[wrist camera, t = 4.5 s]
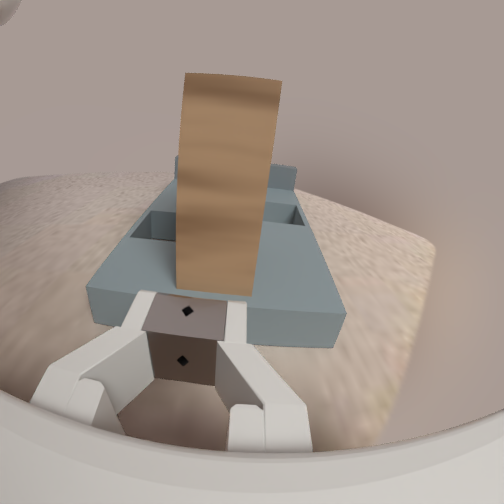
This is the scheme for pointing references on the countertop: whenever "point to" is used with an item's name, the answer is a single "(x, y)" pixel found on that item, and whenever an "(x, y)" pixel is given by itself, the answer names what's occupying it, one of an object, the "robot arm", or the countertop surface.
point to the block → (223, 179)
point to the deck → (265, 281)
